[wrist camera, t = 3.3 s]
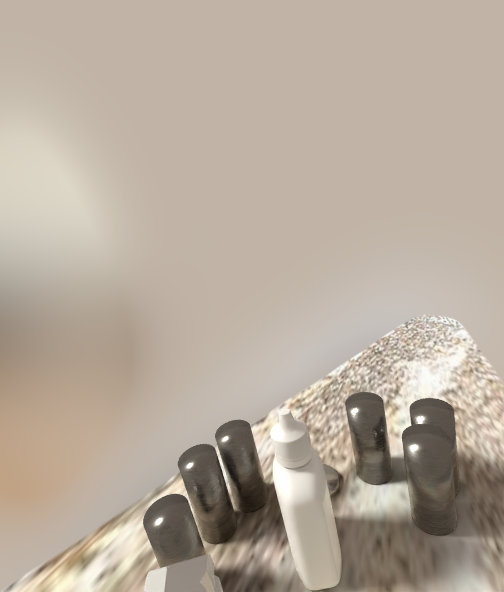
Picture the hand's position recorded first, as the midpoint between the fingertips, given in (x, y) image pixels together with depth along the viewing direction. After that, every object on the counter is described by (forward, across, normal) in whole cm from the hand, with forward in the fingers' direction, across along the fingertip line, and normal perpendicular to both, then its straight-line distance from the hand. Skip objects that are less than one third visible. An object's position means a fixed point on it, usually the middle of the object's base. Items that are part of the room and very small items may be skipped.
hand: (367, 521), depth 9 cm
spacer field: (+16, 0, +17) cm, 24 cm away
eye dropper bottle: (+13, +1, +17) cm, 22 cm away
